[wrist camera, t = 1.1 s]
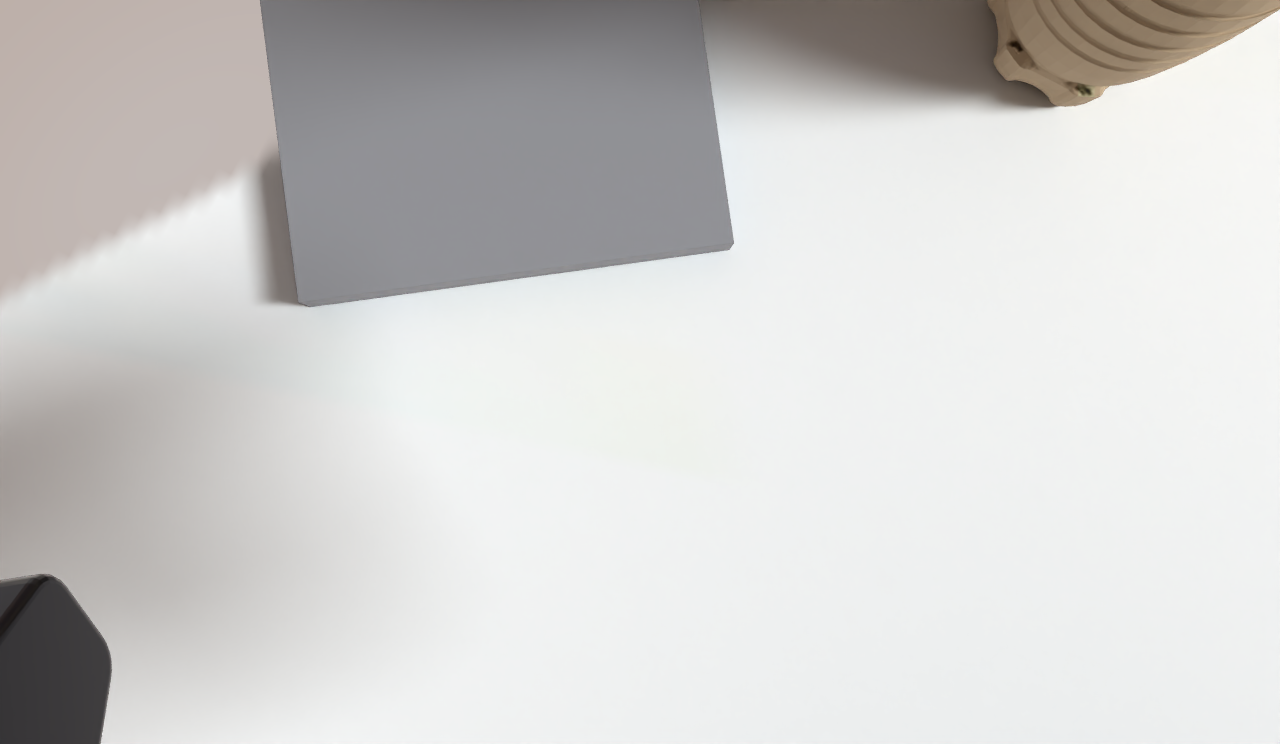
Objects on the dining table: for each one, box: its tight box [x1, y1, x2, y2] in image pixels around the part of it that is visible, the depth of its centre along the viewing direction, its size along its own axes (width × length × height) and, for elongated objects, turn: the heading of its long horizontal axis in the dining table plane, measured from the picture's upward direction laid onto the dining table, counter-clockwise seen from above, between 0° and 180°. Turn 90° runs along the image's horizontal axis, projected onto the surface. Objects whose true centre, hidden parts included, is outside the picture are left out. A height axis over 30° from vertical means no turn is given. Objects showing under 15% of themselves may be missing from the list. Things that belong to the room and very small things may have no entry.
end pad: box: [260, 0, 734, 307], centre depth 21 cm, size 7×8×1 cm
